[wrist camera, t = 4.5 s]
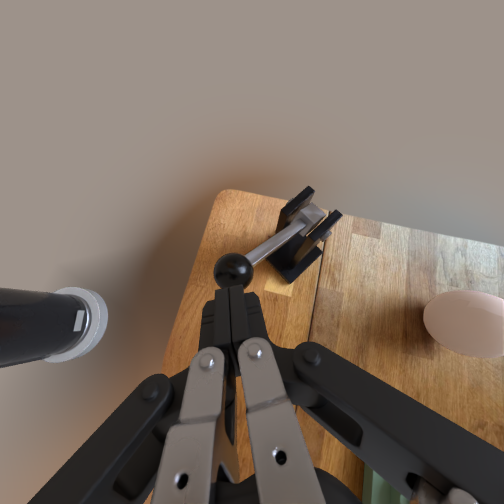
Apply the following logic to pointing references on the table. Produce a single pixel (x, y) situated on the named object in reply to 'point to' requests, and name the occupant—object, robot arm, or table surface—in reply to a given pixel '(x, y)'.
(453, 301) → the egg
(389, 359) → the table surface
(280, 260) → the bracket
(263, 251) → the lever
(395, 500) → the button box
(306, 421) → the table surface
